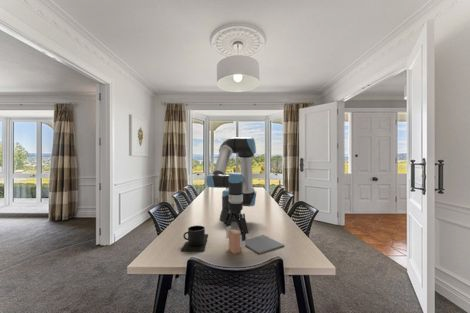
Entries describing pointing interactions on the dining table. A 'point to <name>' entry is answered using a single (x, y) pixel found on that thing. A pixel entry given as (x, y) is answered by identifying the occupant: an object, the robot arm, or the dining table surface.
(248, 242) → the mat
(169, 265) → the dining table surface
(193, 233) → the mug
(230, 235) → the block
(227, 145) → the robot arm
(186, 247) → the black flat plate
